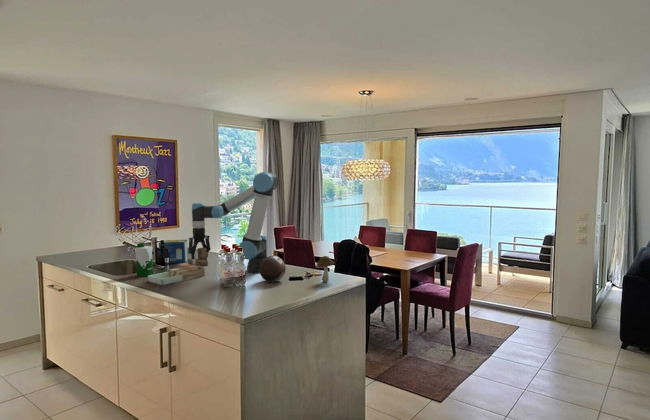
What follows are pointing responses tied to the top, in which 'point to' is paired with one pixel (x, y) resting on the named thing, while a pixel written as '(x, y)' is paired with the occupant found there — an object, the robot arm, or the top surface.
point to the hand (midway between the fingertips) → (200, 263)
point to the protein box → (177, 250)
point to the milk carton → (144, 260)
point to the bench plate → (187, 273)
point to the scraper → (200, 258)
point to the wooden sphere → (272, 268)
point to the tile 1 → (192, 267)
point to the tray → (164, 278)
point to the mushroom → (325, 266)
